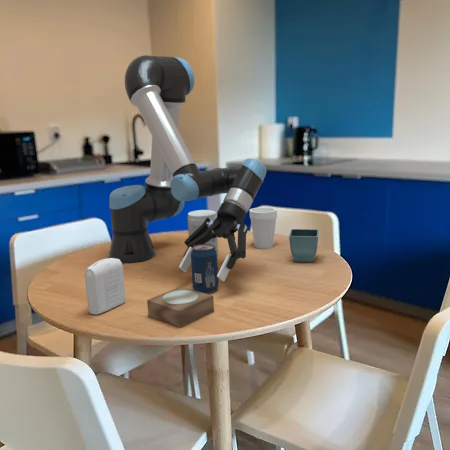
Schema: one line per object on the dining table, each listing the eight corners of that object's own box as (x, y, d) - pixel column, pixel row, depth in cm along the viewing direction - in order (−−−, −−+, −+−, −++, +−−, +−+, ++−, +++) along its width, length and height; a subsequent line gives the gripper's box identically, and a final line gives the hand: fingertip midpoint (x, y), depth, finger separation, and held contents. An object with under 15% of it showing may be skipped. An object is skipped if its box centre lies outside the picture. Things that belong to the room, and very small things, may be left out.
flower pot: (318, 264, 146) (318, 236, 144) (289, 264, 148) (288, 235, 146) (318, 256, 155) (318, 229, 153) (291, 255, 157) (290, 228, 155)
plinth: (148, 315, 114) (147, 298, 113) (181, 301, 122) (180, 285, 121) (181, 327, 107) (179, 309, 106) (214, 311, 115) (213, 294, 114)
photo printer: (116, 299, 126) (112, 253, 123) (128, 302, 123) (124, 255, 120) (85, 313, 117) (80, 264, 114) (98, 316, 115) (92, 267, 112)
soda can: (201, 283, 134) (199, 242, 131) (223, 287, 131) (221, 244, 128) (187, 292, 128) (185, 248, 126) (209, 296, 125) (207, 251, 122)
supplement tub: (191, 252, 165) (188, 210, 162) (218, 251, 165) (216, 209, 162) (188, 260, 156) (186, 216, 152) (218, 259, 156) (216, 215, 152)
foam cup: (278, 249, 164) (277, 212, 161) (251, 250, 164) (250, 213, 161) (275, 242, 173) (275, 206, 170) (250, 243, 173) (249, 207, 170)
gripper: (277, 220, 129) (244, 290, 121) (208, 211, 145) (175, 272, 137) (265, 204, 124) (230, 275, 116) (194, 196, 140) (160, 259, 132)
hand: (200, 274), depth 127 cm, fingers open, 13 cm apart
